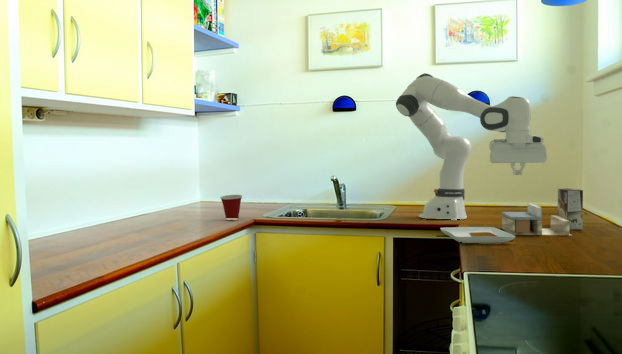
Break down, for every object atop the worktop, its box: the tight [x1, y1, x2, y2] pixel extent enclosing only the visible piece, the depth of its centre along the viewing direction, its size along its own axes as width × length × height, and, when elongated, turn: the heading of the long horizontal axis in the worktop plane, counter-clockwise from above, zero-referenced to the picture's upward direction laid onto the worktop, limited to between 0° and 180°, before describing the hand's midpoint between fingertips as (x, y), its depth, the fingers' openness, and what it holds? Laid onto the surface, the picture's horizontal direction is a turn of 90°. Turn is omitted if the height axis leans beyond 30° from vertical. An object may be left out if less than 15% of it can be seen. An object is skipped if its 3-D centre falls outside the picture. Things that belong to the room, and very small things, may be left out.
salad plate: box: [439, 226, 516, 244], centre depth 178 cm, size 21×21×3 cm
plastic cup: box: [219, 194, 243, 219], centre depth 237 cm, size 11×11×12 cm
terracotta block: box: [515, 220, 530, 233], centre depth 187 cm, size 5×5×5 cm
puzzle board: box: [501, 214, 572, 236], centre depth 186 cm, size 22×14×6 cm
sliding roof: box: [501, 203, 543, 221], centre depth 187 cm, size 11×14×4 cm
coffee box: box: [557, 188, 584, 230], centre depth 199 cm, size 9×6×16 cm
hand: (517, 174), depth 186 cm, fingers closed
